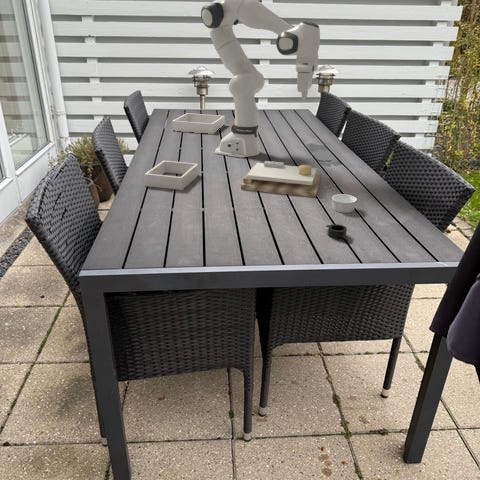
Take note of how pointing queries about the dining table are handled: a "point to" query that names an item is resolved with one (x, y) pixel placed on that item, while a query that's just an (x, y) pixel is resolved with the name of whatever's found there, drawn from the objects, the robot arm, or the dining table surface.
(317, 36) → the robot arm
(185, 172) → the frame
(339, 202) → the ramekin
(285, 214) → the dining table surface
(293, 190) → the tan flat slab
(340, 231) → the duct tape
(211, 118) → the white square tray
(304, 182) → the plate
